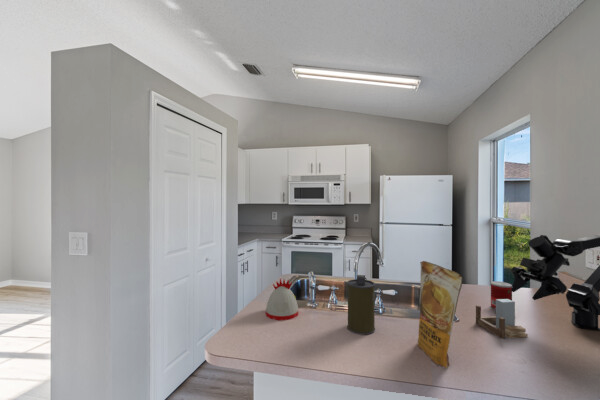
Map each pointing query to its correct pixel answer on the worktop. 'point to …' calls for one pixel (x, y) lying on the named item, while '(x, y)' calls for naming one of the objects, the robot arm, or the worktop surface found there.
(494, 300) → the canned food
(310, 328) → the worktop surface
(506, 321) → the grey rectangular block
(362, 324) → the canister
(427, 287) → the pancake mix bag
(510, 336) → the offcut stack
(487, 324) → the rack
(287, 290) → the beanie hat
